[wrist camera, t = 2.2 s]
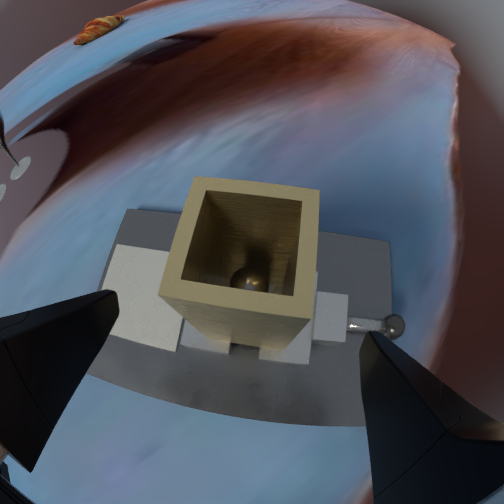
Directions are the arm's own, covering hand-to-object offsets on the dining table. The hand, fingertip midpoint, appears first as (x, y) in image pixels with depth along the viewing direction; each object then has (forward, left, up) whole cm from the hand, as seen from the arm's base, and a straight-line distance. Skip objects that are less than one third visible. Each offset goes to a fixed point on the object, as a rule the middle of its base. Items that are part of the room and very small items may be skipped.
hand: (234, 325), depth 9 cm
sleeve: (+2, -1, -8) cm, 8 cm away
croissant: (+92, +21, -10) cm, 94 cm away
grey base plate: (+2, -1, -10) cm, 10 cm away
